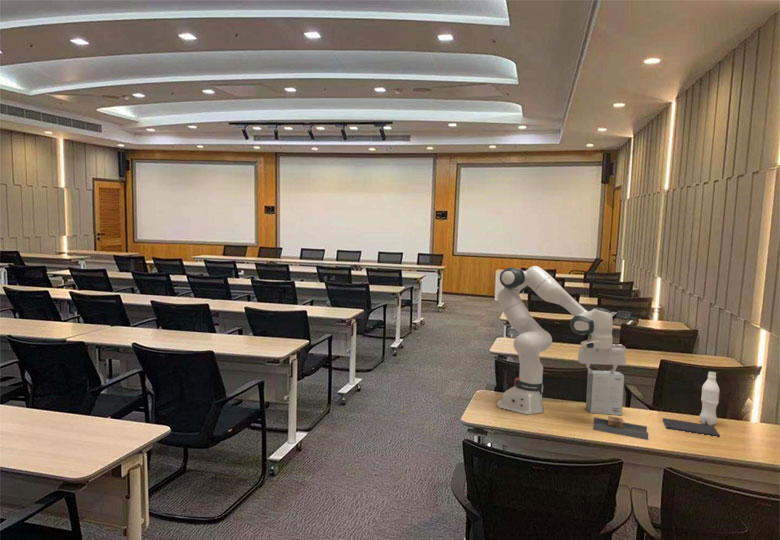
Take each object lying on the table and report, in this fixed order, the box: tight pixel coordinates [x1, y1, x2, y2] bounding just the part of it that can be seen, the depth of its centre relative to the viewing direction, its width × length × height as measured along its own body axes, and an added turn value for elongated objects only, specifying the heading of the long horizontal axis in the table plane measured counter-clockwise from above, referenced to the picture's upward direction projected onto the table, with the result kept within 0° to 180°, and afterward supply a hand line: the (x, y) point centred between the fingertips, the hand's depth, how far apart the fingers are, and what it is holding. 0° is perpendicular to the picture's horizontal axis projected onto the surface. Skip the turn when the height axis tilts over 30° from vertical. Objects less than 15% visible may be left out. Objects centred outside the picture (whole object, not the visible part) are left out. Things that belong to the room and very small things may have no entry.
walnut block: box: [607, 415, 624, 428], centre depth 225 cm, size 6×6×5 cm
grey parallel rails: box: [592, 416, 649, 441], centre depth 224 cm, size 22×10×2 cm, turn 66°
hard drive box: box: [585, 369, 625, 416], centre depth 248 cm, size 16×8×20 cm, turn 84°
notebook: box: [662, 417, 721, 438], centre depth 232 cm, size 13×2×21 cm
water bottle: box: [699, 371, 721, 426], centre depth 238 cm, size 7×7×25 cm
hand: (601, 373), depth 228 cm, fingers open, 8 cm apart
